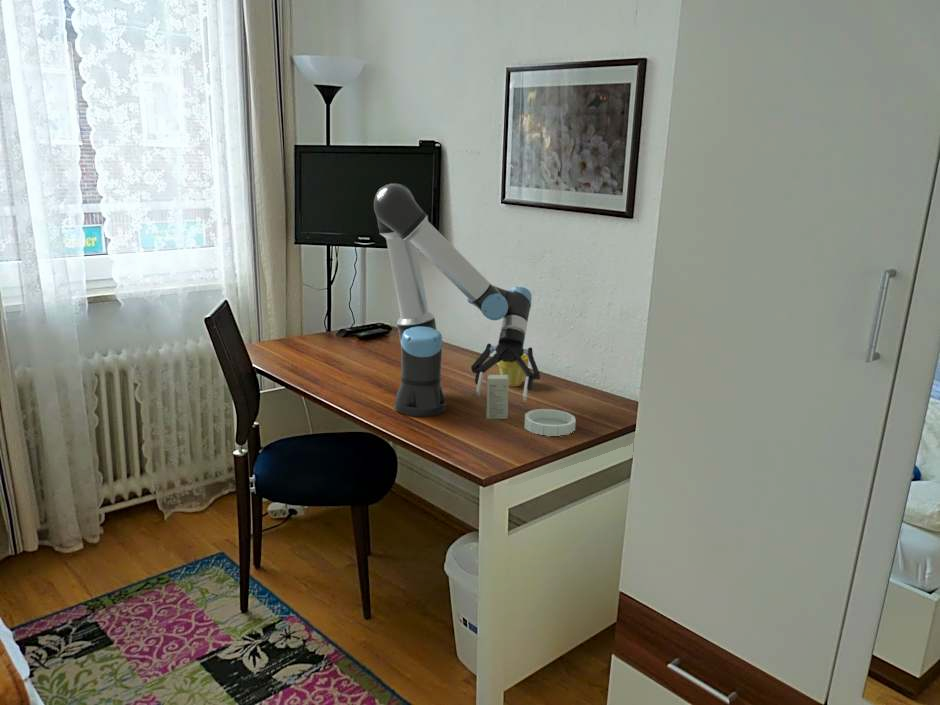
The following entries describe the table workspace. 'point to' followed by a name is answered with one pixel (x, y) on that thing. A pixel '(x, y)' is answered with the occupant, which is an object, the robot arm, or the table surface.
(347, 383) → the table surface
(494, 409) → the skincare box
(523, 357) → the plant pot
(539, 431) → the celadon dish
